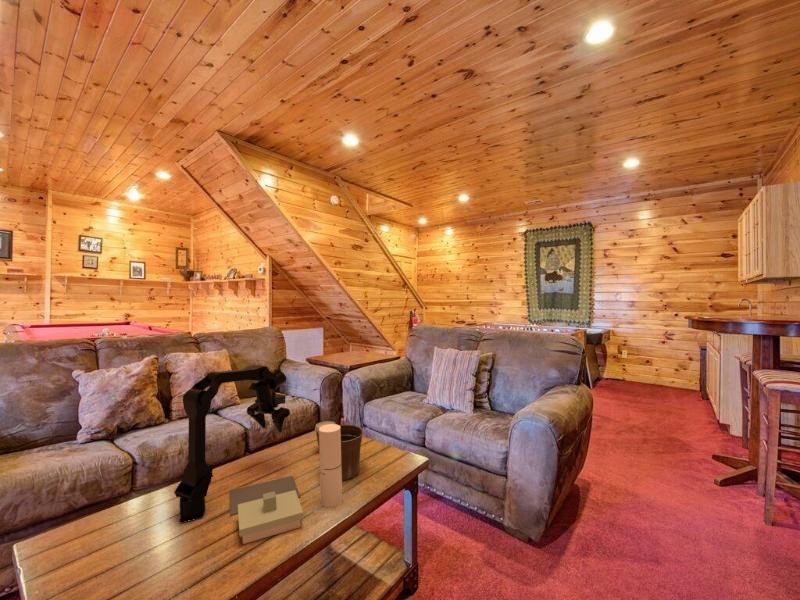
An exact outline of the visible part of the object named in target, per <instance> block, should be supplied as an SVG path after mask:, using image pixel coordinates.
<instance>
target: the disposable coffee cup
mask: <svg viewBox="0 0 800 600" xmlns="http://www.w3.org/2000/svg"><path fill="white" fill-rule="evenodd" d="M327 424H336V422H335V421H332V420H328V421H327V420H326V421H325V420H324V421H321V422H318V423H316V425H315V427H314V431H315V432H316V433H315V434H316V442H317V446H318V448H319V428H320V427H321V426H323V425H327Z"/></svg>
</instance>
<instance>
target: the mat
mask: <svg viewBox="0 0 800 600" xmlns="http://www.w3.org/2000/svg"><path fill="white" fill-rule="evenodd" d="M293 490H295V491H296V493H297V496H298V499H301V495H300V492H299V488H298V486H297V484H296V481H295V478H294V476H293V475H288V476H285V477H281V478H275V479H272V480H268V481H264V482H260V483H256V484H255V483H254V484H250V485H247V486H243V487H239V488H238V487H237V488H234V489H230V490H229V511H230V512H229V513H230V515H229V516H230V517H231V516H235V515H238V504H242V503H246V502H250V501H254V500H258V499H262V498H263V494H265V493H270V492H274V491H275V494H276V495H278V494H282V493H286V492H289V491H293Z"/></svg>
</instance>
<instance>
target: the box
mask: <svg viewBox="0 0 800 600" xmlns="http://www.w3.org/2000/svg"><path fill="white" fill-rule="evenodd" d="M301 526H302V525H301V520H297V521H294V522H290V523H287V524H284V525H280V526H277V527H273V528H270V529H266V530H263V531H259V532H256V533H252V534H249V535H245V536H242V545H245V544H248V543H251V542H255V541H259V540H262V539H265V538H268V537H273V536H275V535H279V534H282V533H285V532H289V531H292V530H296V529H298V528H301Z"/></svg>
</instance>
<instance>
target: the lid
mask: <svg viewBox="0 0 800 600" xmlns="http://www.w3.org/2000/svg"><path fill="white" fill-rule="evenodd" d="M299 499H300V498H298V496H297V493H296V491H295V490H293V491H289V492H286V493H282V494H278V495H276V494H275V491H274V492H270V493H265V494H263V498H262V499H258V500H254V501H250V502H246V503H242V504H238V514H237V518H238V533H239V535H238V536H239V538H241V537H242V536H245V535H249V534H252V533H256V532H259V531H263V530H266V529H270V528H273V527H277V526H280V525H284V524H287V523H290V522H294V521H297V520H300V521H301V520H304V510H303V507H302V505H301V503H300V500H299Z"/></svg>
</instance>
